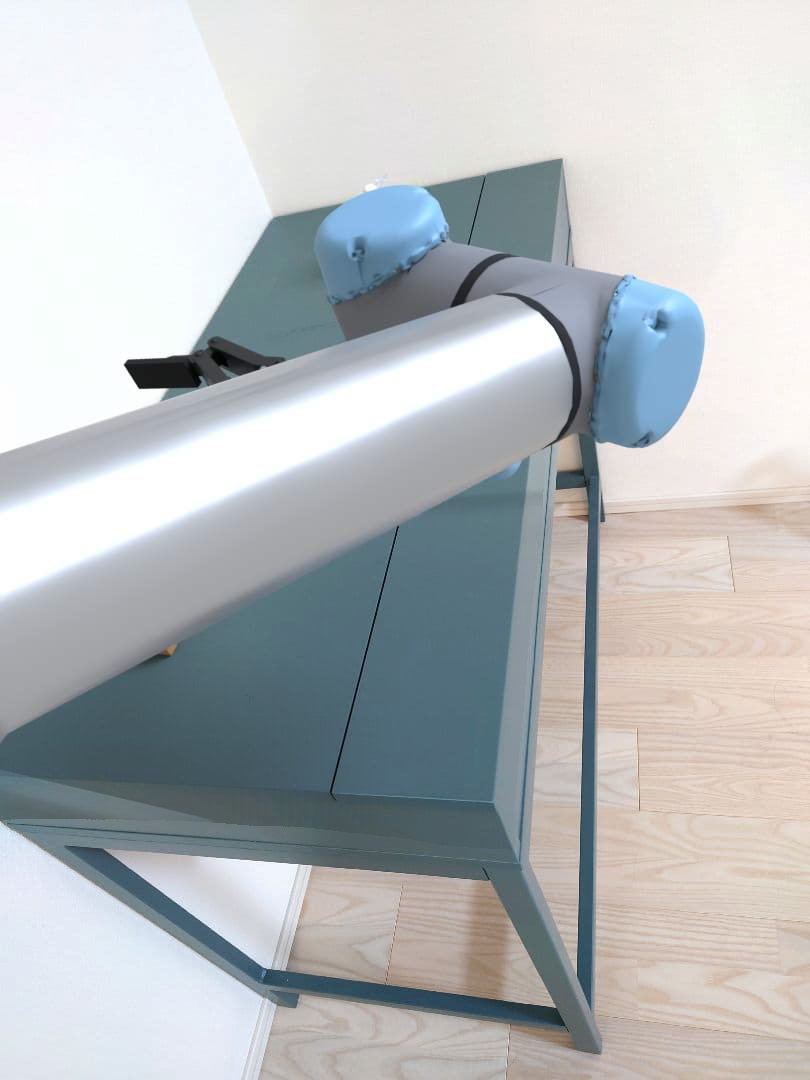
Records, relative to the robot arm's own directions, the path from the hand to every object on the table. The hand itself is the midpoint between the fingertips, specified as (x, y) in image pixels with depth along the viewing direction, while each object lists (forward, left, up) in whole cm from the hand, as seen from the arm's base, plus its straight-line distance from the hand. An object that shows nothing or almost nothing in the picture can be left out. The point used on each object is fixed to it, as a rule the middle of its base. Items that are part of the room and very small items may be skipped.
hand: (92, 426), depth 67 cm
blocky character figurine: (+70, +5, -26) cm, 75 cm away
